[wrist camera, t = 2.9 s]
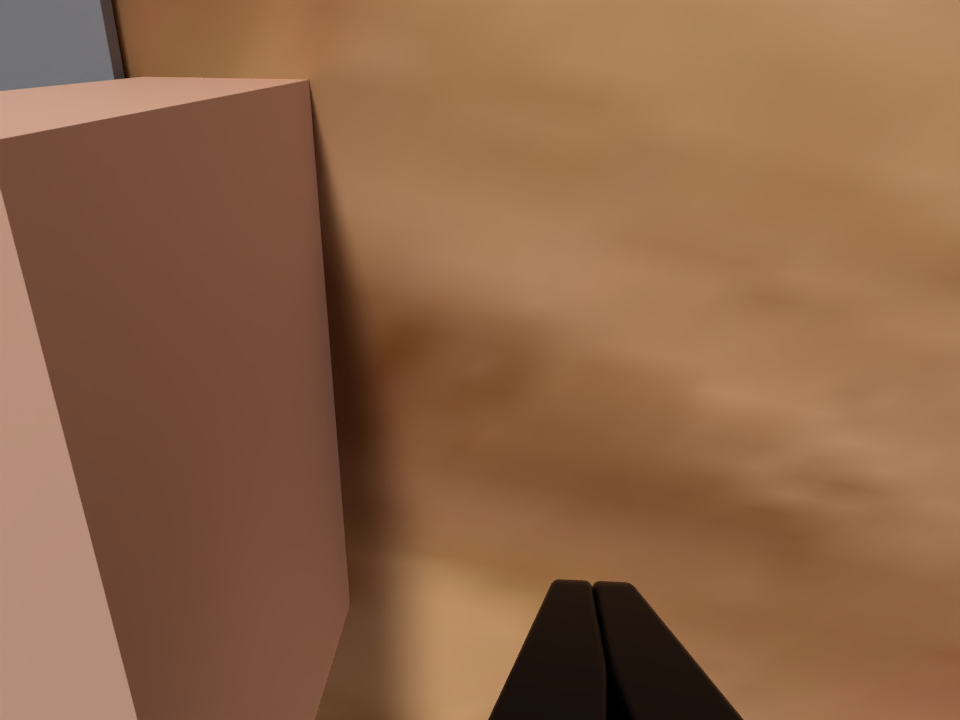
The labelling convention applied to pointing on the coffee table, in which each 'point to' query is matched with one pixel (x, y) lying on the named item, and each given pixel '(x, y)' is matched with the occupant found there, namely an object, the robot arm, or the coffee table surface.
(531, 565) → the coffee table surface
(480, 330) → the coffee table surface
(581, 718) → the robot arm
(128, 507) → the block
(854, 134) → the coffee table surface
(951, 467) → the coffee table surface
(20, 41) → the mat
